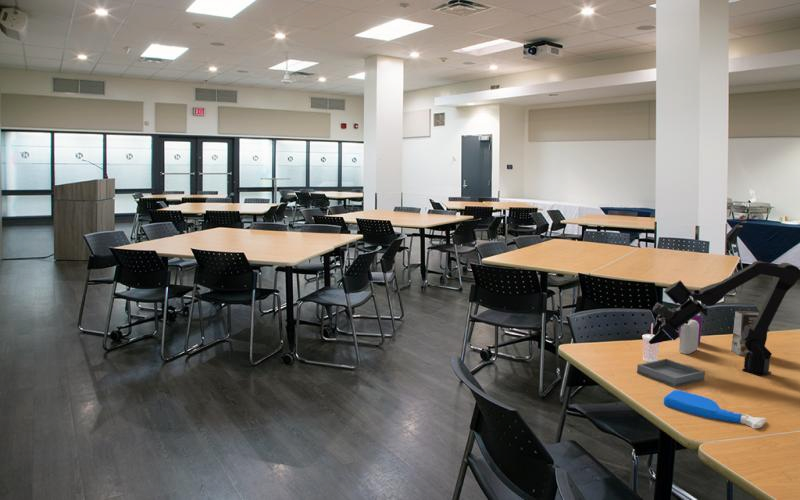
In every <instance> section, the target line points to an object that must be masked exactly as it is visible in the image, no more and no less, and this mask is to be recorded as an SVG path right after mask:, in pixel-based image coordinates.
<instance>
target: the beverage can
mask: <svg viewBox="0 0 800 500" xmlns="http://www.w3.org/2000/svg"><path fill="white" fill-rule="evenodd" d="M691 320H696V321H697V322H698V323H699V334H698V344H699V343H700V342H701V336H702V324H703V323H702V322H703V318H702V315H701V312H700V313H699V314H698V315H696V316H695V317H694V318H692V319H691ZM680 334H681V327H680V328H679V335H680ZM678 339H680V336H679V337H678Z"/></svg>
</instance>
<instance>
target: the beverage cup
mask: <svg viewBox="0 0 800 500" xmlns="http://www.w3.org/2000/svg"><path fill="white" fill-rule="evenodd" d="M650 327H651V329H650V331H651V334H648V333H645V334H643V335H641V336H642V337H641V338H642V360H643V361H644V360H645V362H646V363H647V362H652V361H657V360H658V353H659V347H660V342H659V343H655V344H650V343H649V341H650V340H651V339H652V338H653V337H654V336H655V335H652V332H653V327H654V323H653V322H652V323H651V326H650Z"/></svg>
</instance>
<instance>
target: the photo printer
mask: <svg viewBox="0 0 800 500" xmlns="http://www.w3.org/2000/svg"><path fill="white" fill-rule="evenodd" d="M688 322H689V323H688V324H687V325H686V324H684V325H683V326H681V334H680V333H679V337H680V338H679V349H678V352H680V353H681V354H683V355H684V354H685V355H689V354H691V353H694V352H695V351H697V350H698V345H699V343H698V334H699V323H698V322H697V321H696V320H689V321H688Z"/></svg>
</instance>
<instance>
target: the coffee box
mask: <svg viewBox="0 0 800 500" xmlns="http://www.w3.org/2000/svg"><path fill="white" fill-rule="evenodd" d="M759 312H760V311H748V310H747V311H744V310H743V311H742V310H735V313H734V314H735V315H734V322H733V330H732V332H733V333H732V341H731V348H730V349H731V351H732V352H733V353H735V354H736V355H737V356H744V357H745V356H746V353H748V352H749V351H748V350H747V348H746V347H745V346H744V345H743V343H742V341H741V337H742V336H741V335H740V334H741V333H742V332H743V331H744V327H745V325H747V326H749V327H750V326H751V325H752V324H753V323H754V322H755V320H756V318H757V316H758V314H759Z"/></svg>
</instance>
